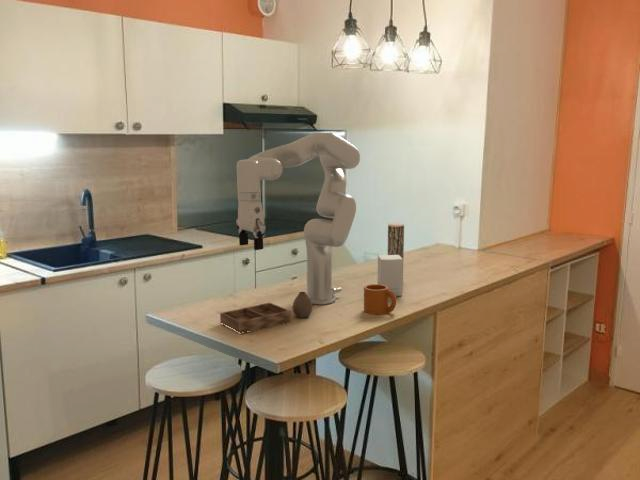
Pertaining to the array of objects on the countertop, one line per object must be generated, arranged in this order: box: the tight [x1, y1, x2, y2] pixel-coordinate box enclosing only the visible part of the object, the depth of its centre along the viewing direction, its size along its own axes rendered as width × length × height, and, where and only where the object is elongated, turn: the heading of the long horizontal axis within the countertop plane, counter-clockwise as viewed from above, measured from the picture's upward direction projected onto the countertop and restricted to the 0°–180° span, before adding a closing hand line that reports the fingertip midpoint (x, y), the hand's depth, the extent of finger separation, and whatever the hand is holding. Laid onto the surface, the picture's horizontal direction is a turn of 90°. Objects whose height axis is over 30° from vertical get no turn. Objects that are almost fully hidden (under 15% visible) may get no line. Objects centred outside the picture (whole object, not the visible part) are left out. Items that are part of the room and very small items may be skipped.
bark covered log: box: [387, 222, 405, 260], centre depth 261 cm, size 7×7×25 cm
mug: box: [363, 283, 397, 315], centre depth 220 cm, size 9×12×9 cm
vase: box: [292, 291, 313, 319], centre depth 215 cm, size 7×7×9 cm
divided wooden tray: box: [219, 302, 292, 333], centre depth 208 cm, size 20×13×4 cm, turn 128°
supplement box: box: [377, 254, 404, 297], centre depth 244 cm, size 9×9×15 cm
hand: (251, 247), depth 207 cm, fingers open, 9 cm apart
